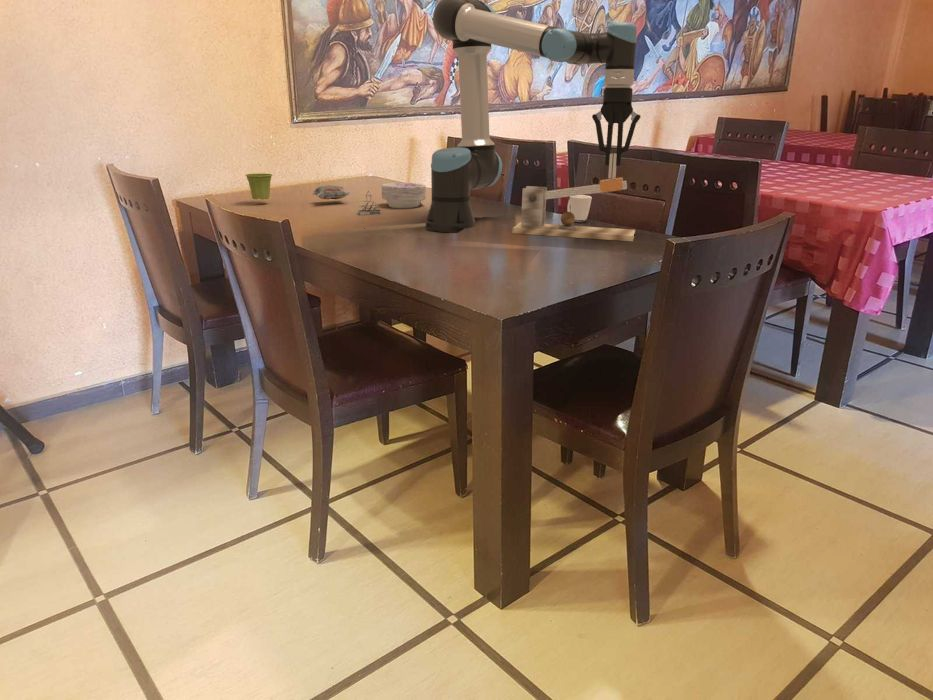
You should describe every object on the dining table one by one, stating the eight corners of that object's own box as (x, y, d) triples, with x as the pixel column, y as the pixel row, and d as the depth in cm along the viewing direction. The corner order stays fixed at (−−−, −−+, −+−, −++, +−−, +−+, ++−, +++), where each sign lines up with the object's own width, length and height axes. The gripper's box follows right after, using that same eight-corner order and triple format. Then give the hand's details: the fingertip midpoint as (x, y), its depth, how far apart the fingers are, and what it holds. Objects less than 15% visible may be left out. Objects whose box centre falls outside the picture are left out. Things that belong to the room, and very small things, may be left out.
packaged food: (349, 200, 252) (349, 186, 251) (317, 201, 248) (316, 187, 246) (343, 197, 260) (343, 184, 258) (312, 198, 255) (311, 185, 254)
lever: (528, 203, 198) (527, 191, 197) (531, 201, 202) (529, 189, 201) (626, 191, 190) (625, 178, 189) (627, 189, 194) (626, 176, 193)
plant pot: (264, 196, 261) (262, 172, 258) (279, 198, 256) (277, 174, 253) (242, 198, 255) (240, 174, 252) (257, 201, 249) (255, 176, 246)
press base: (512, 233, 200) (514, 189, 195) (519, 227, 209) (521, 185, 204) (632, 241, 191) (637, 195, 187) (634, 234, 200) (639, 191, 196)
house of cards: (381, 211, 235) (381, 188, 233) (386, 215, 228) (385, 191, 225) (355, 211, 233) (354, 188, 230) (358, 215, 225) (358, 192, 223)
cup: (576, 224, 214) (577, 198, 211) (558, 219, 223) (559, 194, 220) (594, 223, 217) (596, 197, 214) (576, 218, 225) (578, 193, 223)
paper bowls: (419, 203, 250) (419, 181, 248) (430, 210, 237) (430, 186, 234) (378, 204, 246) (377, 182, 243) (387, 211, 232) (386, 187, 230)
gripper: (591, 86, 182) (586, 178, 190) (643, 86, 179) (635, 180, 187) (594, 87, 189) (589, 175, 197) (644, 87, 185) (637, 177, 193)
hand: (611, 177), depth 192 cm, fingers closed
